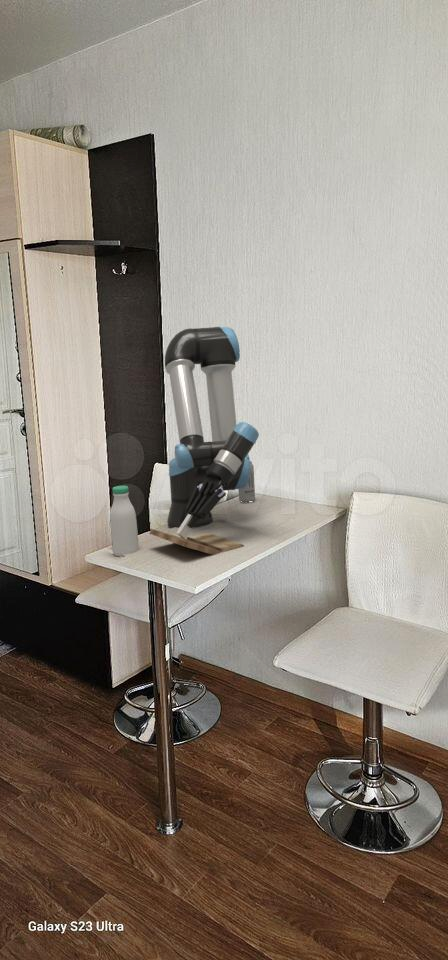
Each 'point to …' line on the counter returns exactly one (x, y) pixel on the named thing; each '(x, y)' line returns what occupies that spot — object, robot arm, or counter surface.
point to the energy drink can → (248, 488)
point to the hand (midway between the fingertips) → (180, 535)
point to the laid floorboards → (215, 542)
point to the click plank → (184, 542)
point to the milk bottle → (123, 523)
